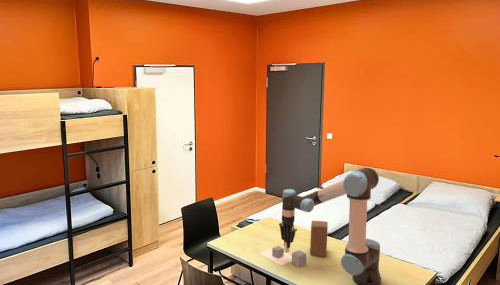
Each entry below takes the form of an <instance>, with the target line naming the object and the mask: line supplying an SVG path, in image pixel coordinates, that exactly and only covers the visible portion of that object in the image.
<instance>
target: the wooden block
mask: <svg viewBox="0 0 500 285" xmlns="http://www.w3.org/2000/svg"><path fill="white" fill-rule="evenodd" d="M328 226H329V224H328V221H324V220H322V221H321V220H311V225H310V243H309V244H310V246H309V247H310V248H309V251H310V252H309V255H310V256H315V257H323V258H326V256H327V248H328V245H327V244H328Z"/></svg>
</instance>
